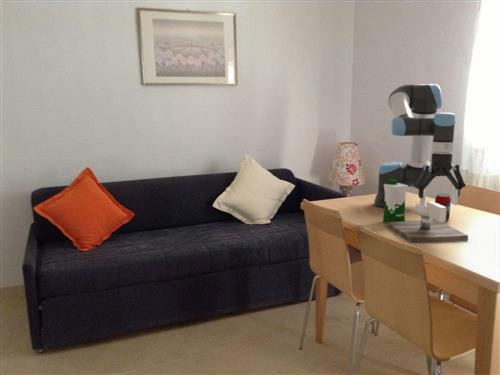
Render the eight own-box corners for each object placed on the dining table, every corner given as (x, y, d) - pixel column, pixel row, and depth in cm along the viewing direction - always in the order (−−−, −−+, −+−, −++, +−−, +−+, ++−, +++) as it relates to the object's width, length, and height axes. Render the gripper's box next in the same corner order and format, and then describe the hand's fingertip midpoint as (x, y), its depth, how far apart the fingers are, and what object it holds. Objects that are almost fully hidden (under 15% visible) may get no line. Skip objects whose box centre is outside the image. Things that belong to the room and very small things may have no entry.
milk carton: (393, 218, 212) (395, 177, 208) (408, 223, 204) (410, 180, 200) (379, 221, 208) (381, 179, 204) (394, 225, 200) (396, 182, 196)
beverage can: (450, 221, 206) (452, 196, 203) (435, 221, 207) (437, 196, 205) (447, 218, 212) (449, 193, 210) (432, 217, 213) (434, 193, 211)
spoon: (411, 211, 191) (412, 198, 190) (431, 210, 192) (431, 197, 191) (431, 222, 174) (432, 207, 173) (453, 221, 175) (454, 207, 174)
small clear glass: (418, 227, 191) (419, 213, 189) (427, 226, 191) (428, 213, 190) (423, 229, 187) (424, 216, 185) (432, 229, 187) (433, 215, 186)
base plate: (386, 226, 200) (387, 221, 199) (437, 224, 202) (437, 219, 202) (411, 242, 176) (411, 237, 176) (467, 240, 179) (468, 235, 178)
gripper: (416, 154, 168) (413, 208, 172) (477, 153, 171) (473, 206, 175) (407, 152, 176) (404, 204, 180) (466, 151, 178) (462, 202, 182)
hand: (438, 205), depth 177 cm, fingers open, 13 cm apart
